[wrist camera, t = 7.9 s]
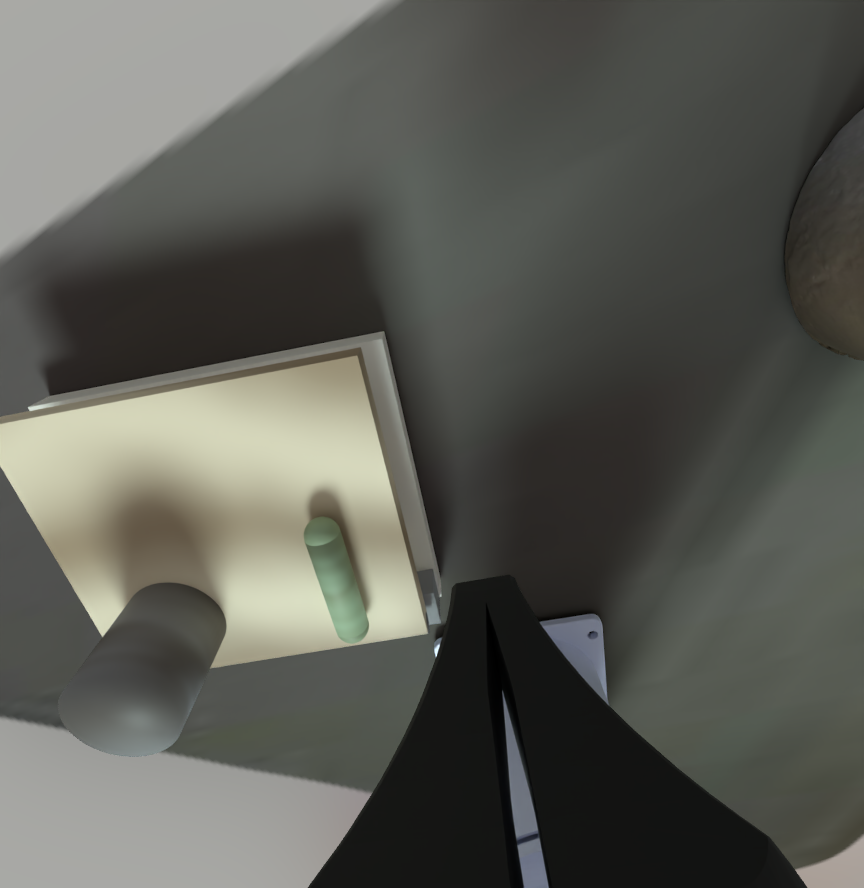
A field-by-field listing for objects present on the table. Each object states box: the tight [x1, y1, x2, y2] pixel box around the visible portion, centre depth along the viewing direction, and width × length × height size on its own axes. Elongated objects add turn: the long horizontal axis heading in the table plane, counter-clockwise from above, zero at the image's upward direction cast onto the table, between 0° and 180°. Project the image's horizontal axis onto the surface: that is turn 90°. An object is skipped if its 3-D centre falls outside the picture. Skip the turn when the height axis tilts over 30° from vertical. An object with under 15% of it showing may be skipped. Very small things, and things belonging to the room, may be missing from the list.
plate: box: [0, 347, 430, 757], centre depth 17 cm, size 11×12×5 cm
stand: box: [28, 331, 442, 625], centre depth 21 cm, size 12×13×3 cm
